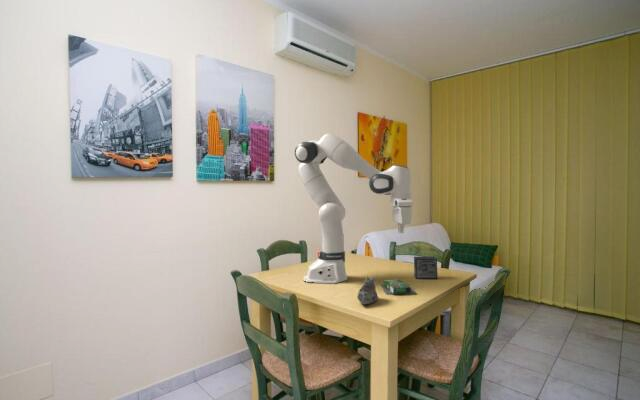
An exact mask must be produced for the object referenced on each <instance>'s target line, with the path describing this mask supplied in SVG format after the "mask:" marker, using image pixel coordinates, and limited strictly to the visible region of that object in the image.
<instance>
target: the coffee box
mask: <svg viewBox="0 0 640 400" xmlns="http://www.w3.org/2000/svg"><path fill="white" fill-rule="evenodd" d="M406 284H407V283H406V282H403V281H402V280H401V279H388V280H387V279H386V280H383V284H382V285H383V286H384V287H385V288H387V289H388V290H389V291H390V292H392V293H393V294H392V295H404V294H403V293H411V288H412V286H410V285H409V284H408V285H409V286H408V285H406Z"/></svg>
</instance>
